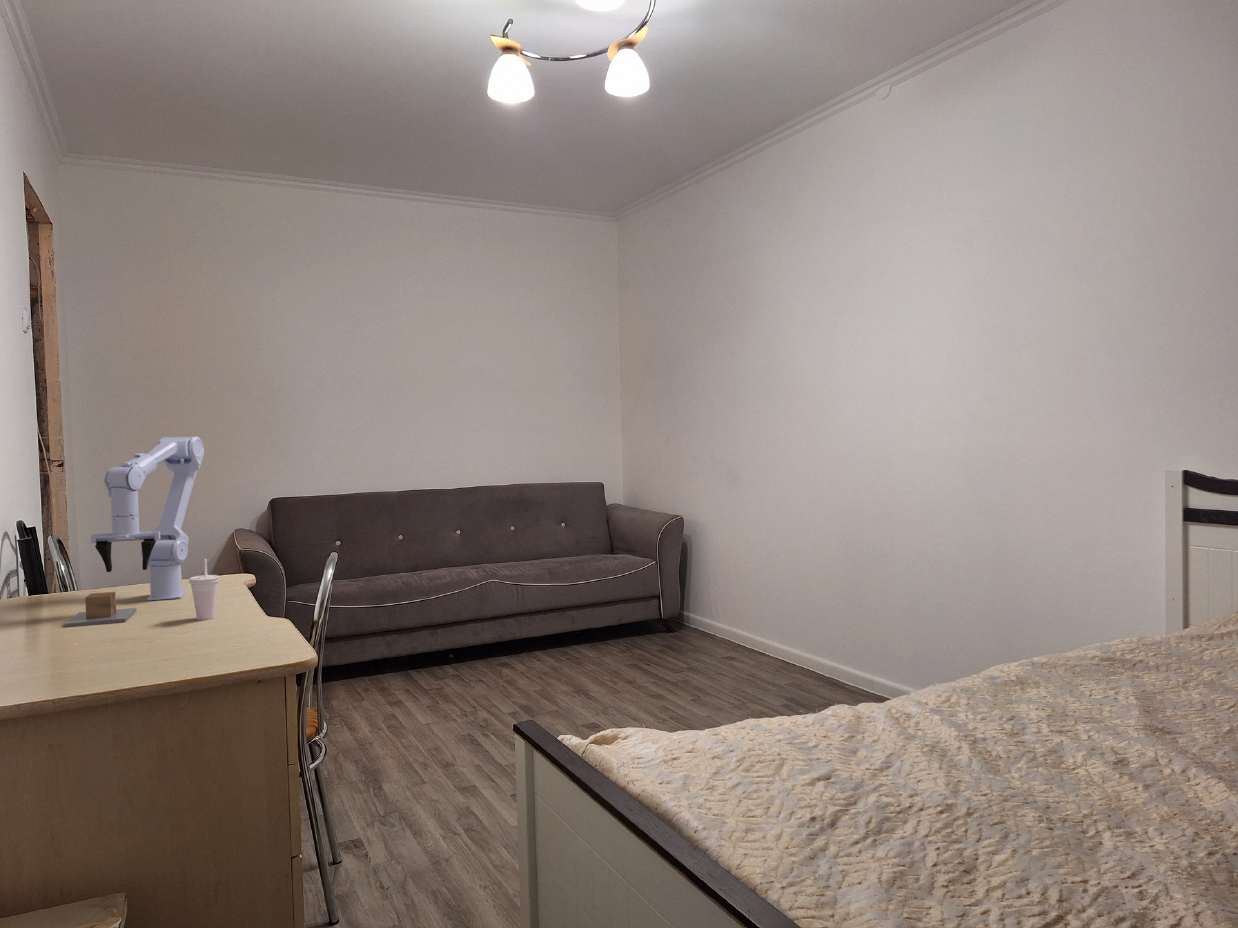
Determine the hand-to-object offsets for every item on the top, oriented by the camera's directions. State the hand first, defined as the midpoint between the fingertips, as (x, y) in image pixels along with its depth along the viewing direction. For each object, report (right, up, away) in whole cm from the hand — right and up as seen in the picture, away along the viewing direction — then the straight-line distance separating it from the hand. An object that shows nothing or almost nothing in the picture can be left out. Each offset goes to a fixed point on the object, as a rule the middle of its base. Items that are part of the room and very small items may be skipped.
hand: (127, 570), depth 196 cm
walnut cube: (-1, -10, -9) cm, 13 cm away
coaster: (-1, -10, -8) cm, 13 cm away
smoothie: (+24, -10, -9) cm, 27 cm away
